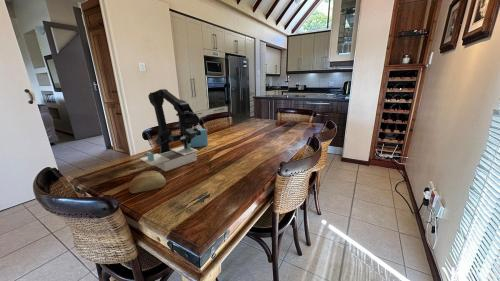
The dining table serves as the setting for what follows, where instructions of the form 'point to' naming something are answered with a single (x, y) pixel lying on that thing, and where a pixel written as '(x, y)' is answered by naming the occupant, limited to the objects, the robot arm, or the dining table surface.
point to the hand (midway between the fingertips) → (187, 148)
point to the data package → (200, 139)
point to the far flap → (182, 149)
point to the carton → (176, 160)
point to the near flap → (154, 158)
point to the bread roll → (147, 181)
